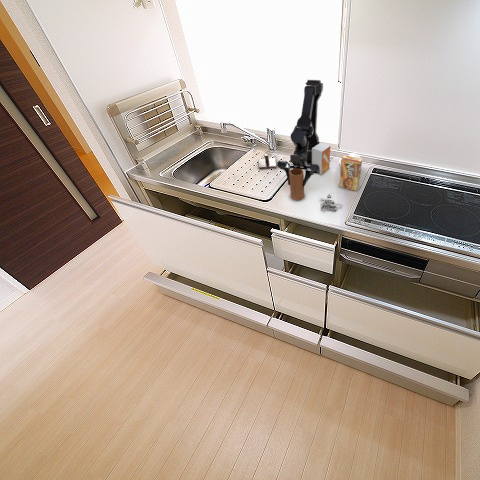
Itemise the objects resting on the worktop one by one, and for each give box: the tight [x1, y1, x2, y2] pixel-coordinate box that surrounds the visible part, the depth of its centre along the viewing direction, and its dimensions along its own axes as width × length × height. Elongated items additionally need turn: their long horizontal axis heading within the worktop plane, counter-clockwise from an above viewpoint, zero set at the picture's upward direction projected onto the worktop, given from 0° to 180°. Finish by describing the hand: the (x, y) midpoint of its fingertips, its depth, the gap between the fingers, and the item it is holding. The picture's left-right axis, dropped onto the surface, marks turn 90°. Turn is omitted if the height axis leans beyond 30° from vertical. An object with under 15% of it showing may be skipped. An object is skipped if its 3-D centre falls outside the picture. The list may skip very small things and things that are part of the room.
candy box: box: [339, 155, 363, 192], centre depth 123 cm, size 9×4×15 cm, turn 68°
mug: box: [338, 152, 362, 168], centre depth 136 cm, size 12×9×8 cm
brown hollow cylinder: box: [289, 168, 305, 201], centre depth 117 cm, size 6×6×13 cm
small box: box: [312, 142, 331, 176], centre depth 135 cm, size 8×6×13 cm
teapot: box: [319, 193, 341, 212], centre depth 115 cm, size 9×9×8 cm
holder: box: [258, 153, 277, 170], centre depth 141 cm, size 9×9×6 cm
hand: (296, 186), depth 116 cm, fingers closed on brown hollow cylinder, 6 cm apart
